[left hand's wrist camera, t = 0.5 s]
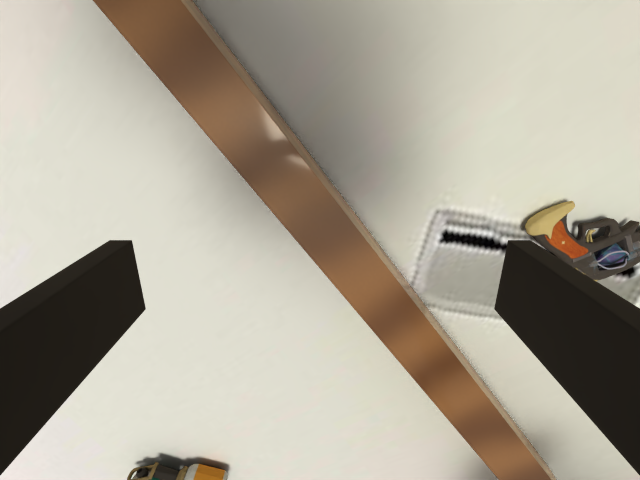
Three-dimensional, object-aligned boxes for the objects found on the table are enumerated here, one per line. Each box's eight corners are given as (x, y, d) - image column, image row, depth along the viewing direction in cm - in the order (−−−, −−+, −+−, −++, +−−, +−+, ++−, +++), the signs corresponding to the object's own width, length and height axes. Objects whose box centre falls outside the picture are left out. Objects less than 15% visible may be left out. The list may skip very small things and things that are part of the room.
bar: (92, -35, 30) (27, -77, 24) (131, -79, 29) (75, -137, 22) (516, 479, 52) (545, 535, 46) (547, 465, 51) (582, 519, 45)
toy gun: (531, 221, 36) (555, 306, 38) (716, 147, 34) (731, 238, 37) (516, 217, 38) (539, 296, 40) (688, 148, 37) (702, 233, 39)
